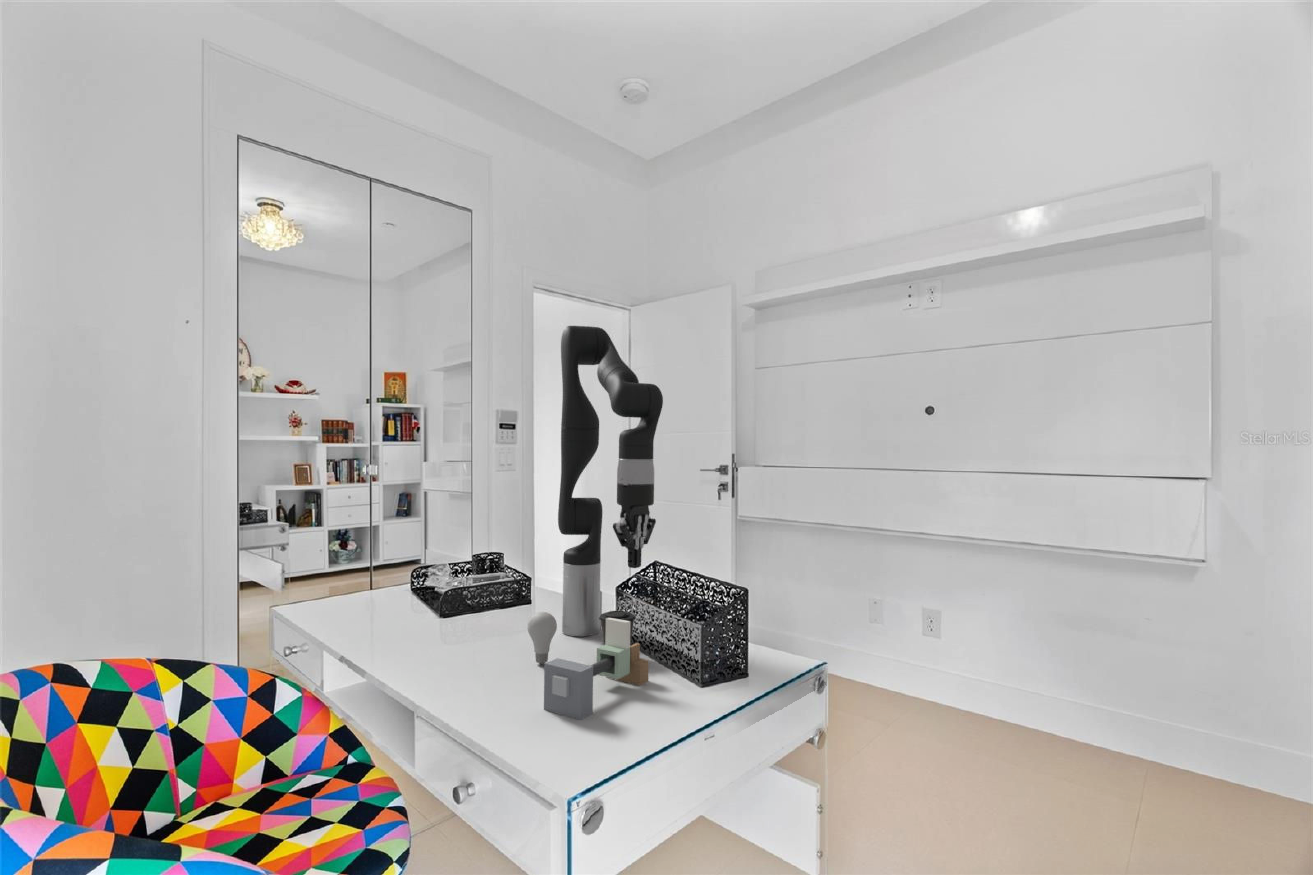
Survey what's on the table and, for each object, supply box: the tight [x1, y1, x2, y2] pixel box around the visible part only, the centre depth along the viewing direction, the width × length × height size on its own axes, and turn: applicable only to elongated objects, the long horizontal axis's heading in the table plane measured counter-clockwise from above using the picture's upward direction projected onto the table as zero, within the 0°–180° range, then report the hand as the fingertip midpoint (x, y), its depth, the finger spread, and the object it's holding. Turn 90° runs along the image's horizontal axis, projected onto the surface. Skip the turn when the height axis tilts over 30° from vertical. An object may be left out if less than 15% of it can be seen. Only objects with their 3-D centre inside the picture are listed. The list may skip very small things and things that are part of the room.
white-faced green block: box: [596, 618, 631, 680], centre depth 127 cm, size 4×5×10 cm
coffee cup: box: [599, 610, 637, 646], centre depth 144 cm, size 8×8×10 cm
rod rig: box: [543, 642, 650, 720], centre depth 123 cm, size 23×8×8 cm, turn 149°
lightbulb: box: [527, 611, 558, 665], centre depth 140 cm, size 6×6×11 cm
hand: (634, 567), depth 134 cm, fingers closed
